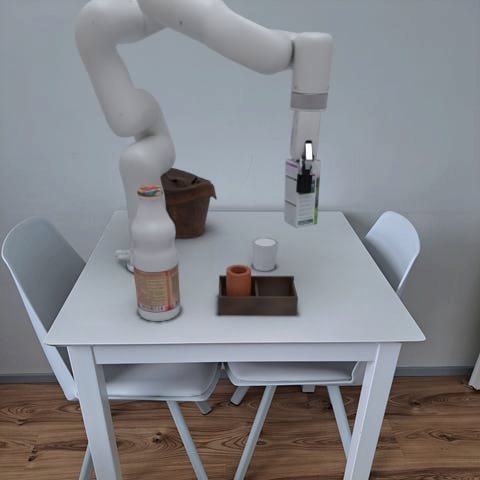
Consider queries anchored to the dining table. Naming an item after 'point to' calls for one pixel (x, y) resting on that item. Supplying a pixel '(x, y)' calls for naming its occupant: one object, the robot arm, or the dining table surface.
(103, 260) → the dining table surface
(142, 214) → the fruit juice
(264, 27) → the robot arm
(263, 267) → the white tapered cylinder
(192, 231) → the brown tapered bucket
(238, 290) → the orange hollow cylinder
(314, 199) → the syrup box
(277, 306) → the spice rack
